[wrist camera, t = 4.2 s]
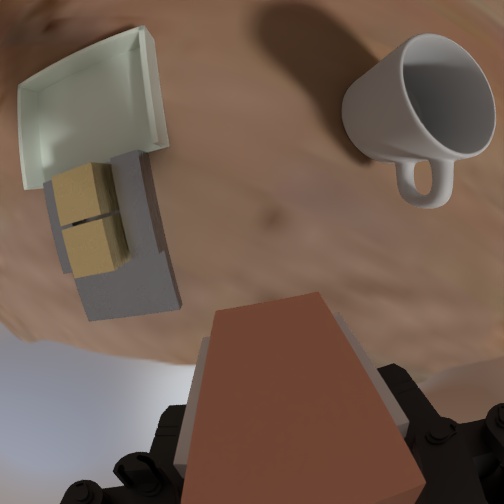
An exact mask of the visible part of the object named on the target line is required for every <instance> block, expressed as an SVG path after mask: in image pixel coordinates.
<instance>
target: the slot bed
mask: <svg viewBox="0 0 504 504" xmlns="http://www.w3.org/2000/svg"><path fill="white" fill-rule="evenodd" d="M107 164H111V167H112V173H113V178H114V184H115V189H116V194H117V199H118V204H119V209H120V210H116V211H113V212H109V213H105V214H102V215H98V216H95V217H91V218H88V219H84V220H81V221H77V222H74V223H70V224H67V225H64V226H61V225H60V221H59V216H58V211H57V206H56V201H55V196H54V190H53V184H52V180H50V181H47V182H45V183H43V187H44V193H45V199H46V204H47V209H48V214H49V219H50V224H51V228H52V232H53V237H54V241H55V245H56V249H57V252H58V256H59V260H60V263H61V267H62V270H63V274H65V273H70V272H72V273H73V271H72V268H71V264H70V261H69V257H68V254H67V250H66V246H65V242H64V238H63V234H62V230H63V229H67V228H70V227H73V226H76V225H79V224H82V223H86V222H89V221H93V220H96V219H100V218H104V217H107V216H111V215H115V214H118V213H120V214H121V218H122V223H123V227H124V231H125V235H126V240H127V244H128V248H129V251H130V255H131V259H130V260H129V261H127V262H126V263H125V264H123V265H122V266H121V267H119V268H118V269H116V270H115V271H110V272H105V273H100V274H95V275H90V276H85V277H80V278H74V279H75V283H76V286H77V289H78V292H79V295H80V298H81V301H82V304H83V307H84V309H85V312H86V315H87V318H88V320H89V321H97V320H105V319H114V318H122V317H130V316H137V315H145V314H152V313H159V312H166V311H173V310H180V308H181V306H182V301H181V297H180V294H179V290H178V286H177V283H176V279H175V275H174V271H173V267H172V263H171V259H170V255H169V251H168V247H167V243H166V238H165V234H164V230H163V225H162V221H161V216H160V211H159V207H158V202H157V197H156V192H155V187H154V182H153V177H152V171H151V166H150V160H149V154H148V152H145V151H141V150H134V151H131V152H128V153H125V154H121V155H118V156H115V157H112V158H110V162H107ZM73 276H74V275H73Z"/></svg>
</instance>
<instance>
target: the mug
mask: <svg viewBox="0 0 504 504" xmlns="http://www.w3.org/2000/svg"><path fill="white" fill-rule="evenodd" d="M341 112H342V121H343V125H344V128H345V130H346V133H347V135H348V136H349V138H350V140H351V141H352V143H353V144H354V145H355V146H356V147H357V149H359V150H360V151H361V152H362V153H363V154H365V155H366V156H368V157H369V158H371V159H373V160H376V161H379V162H382V163H395V166H396V176H397V185H398V189H399V192H400V195H401V196H402V198H403V199H404V200H405V201H406V202H408V203H409V204H411V205H414V206H416V207H420V208H437V207H440V206H442V205H443V204H445V203H446V202H447V201H448V200H449V198H450V196H451V193H452V188H453V170H454V161H455V160H459V159H464V158H471V157H474V156H476V155H478V154H480V153H481V152H483V151H484V150H485V149H486V148H487V146H488V145H489V143H490V141H491V139H492V137H493V134H494V131H495V125H496V109H495V102H494V97H493V94H492V91H491V88H490V85H489V83H488V81H487V79H486V76H485V75H484V73H483V71H482V70H481V68H480V66H479V65H478V64H477V62H476V61H475V60H474V59H473V57H472V56H471V55H470V54H469V53H468V52H467V51H466V50H465V49H463V48H462V47H461V46H460V45H458V44H457V43H456V42H454V41H452V40H450V39H449V38H446V37H444V36H442V35H438V34H433V33H422V34H418V35H415V36H413V37H411V38H409V39H408V40H406V41H405V42H404V43H402V44H401V45H400V46H399V47H397V48H396V49H395V50H393V51H392V52H391V53H390V54H388V55H387V56H386V57H385V58H383V59H382V60H381V61H380V62H379V63H377V64H376V65H375V66H374V67H372V68H371V69H370V70H369V71H367V72H366V73H365V74H364V75H362V76H361V77H360V78H358V79H357V80H356V81H355V82H353V83H352V84H351V86H350V87H349V88H348V89H347V91H346V93H345V95H344V98H343V102H342V109H341ZM427 160H428V161H429V162H430V165H431V170H432V188H431V191H430V193H429V194H428V195H421V194H420V193H419V192H418V191H417V190H416V188H415V184H414V166H415V163H417V162H420V161H427Z"/></svg>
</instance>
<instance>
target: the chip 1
mask: <svg viewBox="0 0 504 504" xmlns="http://www.w3.org/2000/svg"><path fill="white" fill-rule="evenodd" d="M51 178H52V184H53V190H54V196H55V201H56V206H57V211H58V216H59V221H60V225H61V226H64V225H67V224H70V223H74V222H77V221H81V220H84V219H88V218H91V217H95V216H98V215H102V214H105V213H109V212H113V211H116V210H120V209H119V204H118V199H117V194H116V189H115V184H114V178H113V173H112V167H111V164H107V163H95V162H90V163H87V164H85V165H82V166H79V167H77V168H74V169H71V170H69V171H66V172H64V173H61V174H59V175H56V176H54V177H51Z"/></svg>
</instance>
